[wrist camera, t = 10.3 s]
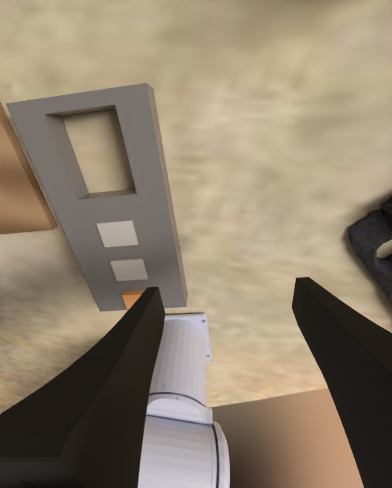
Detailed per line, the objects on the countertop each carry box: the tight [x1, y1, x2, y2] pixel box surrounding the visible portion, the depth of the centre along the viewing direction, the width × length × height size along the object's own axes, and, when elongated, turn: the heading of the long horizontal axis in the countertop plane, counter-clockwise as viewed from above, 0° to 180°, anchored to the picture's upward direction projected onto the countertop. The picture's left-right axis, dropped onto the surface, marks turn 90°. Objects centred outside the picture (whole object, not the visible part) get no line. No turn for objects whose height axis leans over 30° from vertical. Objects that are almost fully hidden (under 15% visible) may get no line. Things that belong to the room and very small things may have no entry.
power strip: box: [6, 83, 188, 311], centre depth 19 cm, size 20×10×3 cm, turn 6°
